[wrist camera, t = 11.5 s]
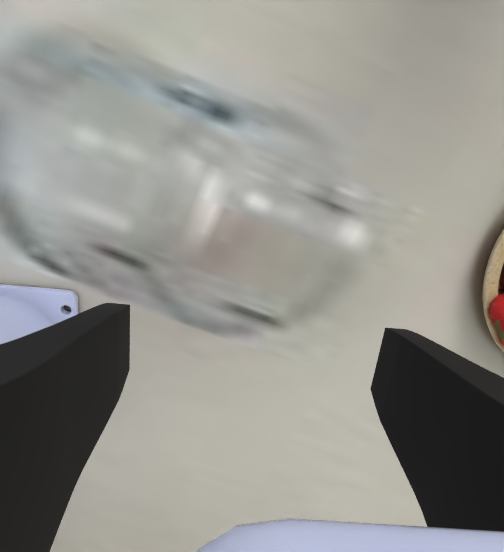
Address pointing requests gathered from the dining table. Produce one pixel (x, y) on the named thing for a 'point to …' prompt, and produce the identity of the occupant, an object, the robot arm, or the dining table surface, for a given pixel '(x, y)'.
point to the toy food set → (495, 292)
